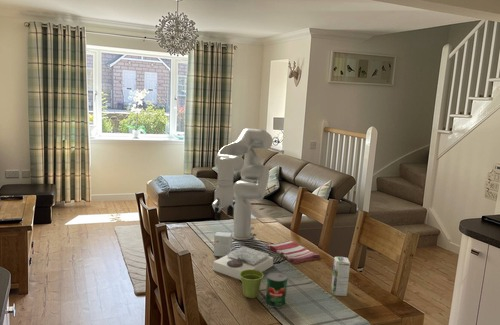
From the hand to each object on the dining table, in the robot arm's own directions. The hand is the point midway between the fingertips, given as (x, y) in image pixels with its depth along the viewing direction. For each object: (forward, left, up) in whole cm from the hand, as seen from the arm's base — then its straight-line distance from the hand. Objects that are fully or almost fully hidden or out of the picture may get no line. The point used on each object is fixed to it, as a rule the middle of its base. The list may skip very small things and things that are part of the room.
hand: (223, 217), depth 201 cm
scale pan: (+2, +17, -14) cm, 22 cm away
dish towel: (-26, +25, -20) cm, 41 cm away
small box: (0, 0, -19) cm, 19 cm away
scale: (+6, +17, -19) cm, 26 cm away
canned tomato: (+24, +45, -19) cm, 54 cm away
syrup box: (0, +61, -19) cm, 64 cm away
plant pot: (+25, +34, -19) cm, 46 cm away
